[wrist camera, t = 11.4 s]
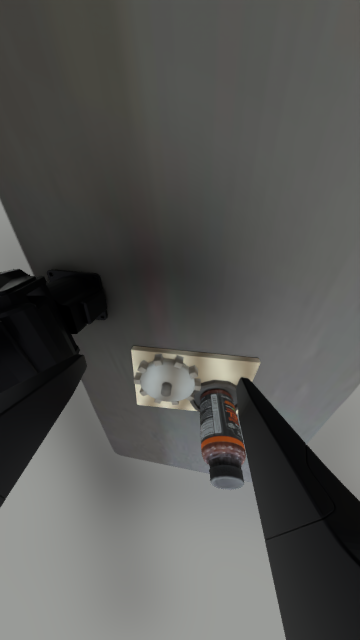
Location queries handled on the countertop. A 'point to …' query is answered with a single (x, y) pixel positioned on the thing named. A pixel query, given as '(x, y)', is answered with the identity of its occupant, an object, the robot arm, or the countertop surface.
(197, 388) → the gear board
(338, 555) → the robot arm
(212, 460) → the supplement bottle
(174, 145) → the countertop surface
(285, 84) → the countertop surface
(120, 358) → the countertop surface
